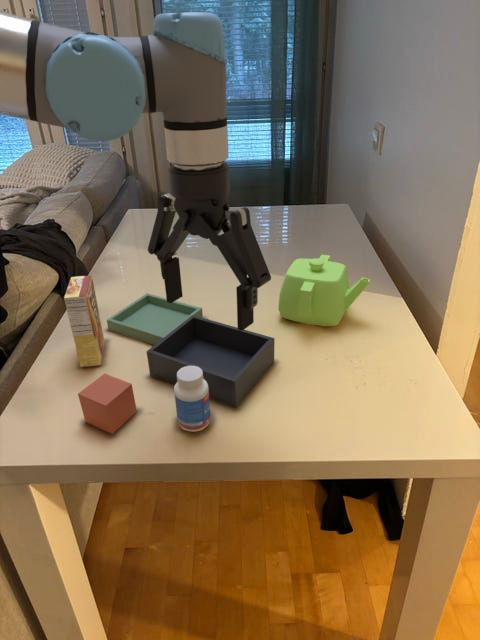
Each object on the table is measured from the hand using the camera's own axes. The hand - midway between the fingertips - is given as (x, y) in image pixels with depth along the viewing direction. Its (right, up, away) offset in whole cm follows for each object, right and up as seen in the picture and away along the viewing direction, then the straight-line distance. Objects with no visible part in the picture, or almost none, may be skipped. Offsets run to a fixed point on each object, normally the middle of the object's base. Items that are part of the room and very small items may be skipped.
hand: (208, 312), depth 68 cm
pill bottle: (-3, -18, +8) cm, 20 cm away
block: (-17, -17, +9) cm, 26 cm away
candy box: (-25, -8, +25) cm, 36 cm away
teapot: (+23, 0, +36) cm, 43 cm away
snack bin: (0, -10, +20) cm, 22 cm away
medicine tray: (-14, -2, +34) cm, 37 cm away
